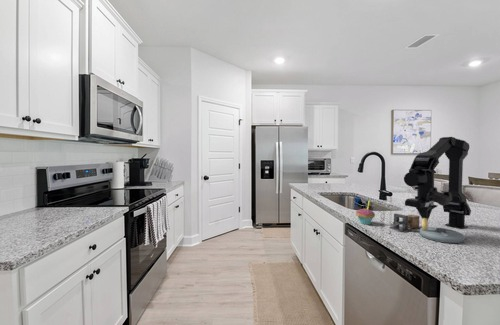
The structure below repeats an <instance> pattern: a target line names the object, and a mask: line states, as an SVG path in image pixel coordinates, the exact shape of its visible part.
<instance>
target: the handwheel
mask: <svg viewBox="0 0 500 325" xmlns="http://www.w3.org/2000/svg"><path fill="white" fill-rule="evenodd" d="M421 219H422V220H421V221H422V222H421V228H420V227H419V235H420V236H421V237H423V238H426V239H428V240H431V241H436V242H440V243H441V242H442V243H449V244H460V243H464V242H465V241H464V240H465V234H464V233H462V232H460V231H456V230H453V229H450V228H449V229H448V228H445V227H444V228H443V227H438V226H429V225H428V224H429V222H428V221H429V219H427V218H422V217H421Z"/></svg>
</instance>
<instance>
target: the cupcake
mask: <svg viewBox="0 0 500 325" xmlns="http://www.w3.org/2000/svg"><path fill="white" fill-rule="evenodd" d="M370 204H371V199H369V200H368V202H367V208H359V209H357V210H356V211H355V216H356V217H357V218H358V220H359V223H360V224H362V225H366V226H367V225H371V223H372V221H373V219H374V218H375V217H376V213H375V212H374V211H373V210H371V209H369V208H370Z"/></svg>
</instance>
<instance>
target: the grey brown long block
mask: <svg viewBox="0 0 500 325" xmlns="http://www.w3.org/2000/svg"><path fill="white" fill-rule="evenodd" d="M405 215H406V216H408V229H417V228H420V215H416V214H405ZM396 225H399V226H401V225H402V220H399V222H394V221H392V222H390V227H391V226H393V227H394V226H396Z"/></svg>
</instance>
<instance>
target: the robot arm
mask: <svg viewBox="0 0 500 325" xmlns="http://www.w3.org/2000/svg"><path fill="white" fill-rule="evenodd" d="M469 150H470V144H469V143H468V142H467V141H466V140H463V139H459V138H456V137H453V136H446V137H445V136H444V137H443V136H442V137H440V138H439V139H438V141H437V142H436V143H435V144H434V145H432V147H430V148H429V149H428V150H427V151H424V152H420V153H418V154H417V155H416V156H415V157H414V159H413V161H412V163H411V166H410V168H409V169H408V172H407V173H405V175H404V176H403V182H404V184H405V185H407V186H409V187H414V190H416V191H417V192H416V196H415V195H414V198H407V199H405V200H404V206H406V207H411V208H415V209H416V210H417V212H418V214H419V217H421V219H422V218H427V219H428V220H429V218H430V217H431V213H432V212H433V210H434V209H436V208H437V207H438V205H439V206H442V208H443V212H444V213H448V223H445V224H444V225H445V226H446V227H447V226H448V227H452V228H456V229H460V230H461V229H467V228H469V226H468V225H466V224H465V223H466V222H465V219H466V217H467V216H471V212H472V210H471V208H470V206H469V204H468V202H467V196H466V195H465V194H464V193H463V169H464V168H463V167H464V164H463V162H464V160H465V159H466V157H467V156H468V155H469ZM443 155H445V157H446V158H447V159H448V162H449V163H448V164H449V165H448V191H444V192H440V191H438V188H437V187H435V174H437V170H435V169H436V168H437V167H438V166H439V163H440V158H441V157H442V156H443ZM435 203H437V204H438V205H437V204H435ZM465 216H466V217H465Z"/></svg>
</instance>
